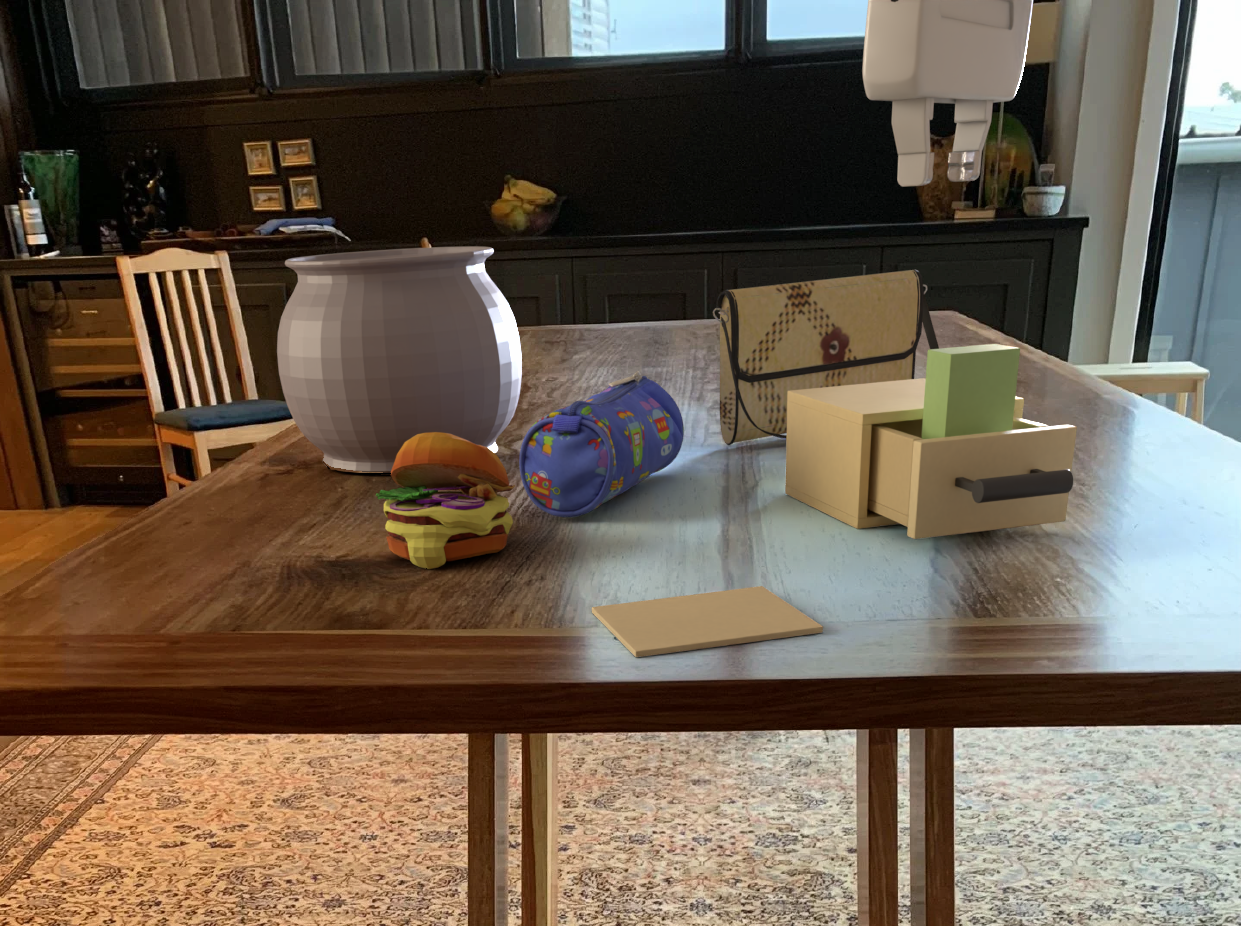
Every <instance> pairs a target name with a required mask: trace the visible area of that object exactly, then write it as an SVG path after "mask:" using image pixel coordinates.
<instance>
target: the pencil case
mask: <svg viewBox="0 0 1241 926" xmlns="http://www.w3.org/2000/svg"><path fill="white" fill-rule="evenodd" d="M607 384H608V387H607V388H605V389H604V390H602V391H600V393H596V394H593V395H591V396H590V397H588V398H587V399H585V400H575V401H574V402H572V403H571V404H570V405H569V406H568V405H567V406H565V407H561V408H558V409H555V410H554V411H552V412H550V413H548V414H546V415H545V416H543V417H540V418H539V419H537V420H536V421H535V422H534V423H533V424H532V425H531V426H530V427H529V429H528V430H527V432H526V434H525V435H524V438H523V440H522V443H521V444H520V445H521V446H520V450H519V451H520V452H519V459H518V460H519V473H520V474H519V475H520V479H521V483H522V486H523V487H524V490H525V492H526V495H527V496H528V497H529V499H530V500H531V502H532V503H533V504H534V505H535V506H536V507H537V508H538V509H540V510H541V511H543V512H545V513H547V514H549V515H551V516H554V517H557V518H558V517H559V518H576V517H581V516H583V515H586V514H588V513H591V512H592V511H594V510H596V509H598V508H599V507H600V506H601V505H603V504H605V503H607V502H609V501H610V500H613V499H614V498H616V497H617V496H619V495H621V494H623V493H625V492H627V491H628V490H630V489H631V488H633V487H635V486H637V485H638V484H640V483H641V482H643V481H644V480H645V479H647V478H648V477H650V476H652V475H653V474H655V473H657V472H660V471H662V470H664V469H665V468H667V467H668V466H669V465H671V464H672V463H673V461H675V459H676V458H677V457H678V455H679V453H680V452H681V448H682V445H683V441H684V436H685V427H684V420H683V415H682V413H681V410H680V408H679V406H678V404H677V402H676V401H675V399H674V398H673V397H672V396H671V395H670V394H669V392H668V391H666V390H665V389H664V388H663V387H662V386H661V385H659V384H658V382H656V381H654V380H653V379H650V378H648V377H647V375H641V373H640V371H638V370H637V371H635V373H634V374H632V375H630V376H628V377H624V378H621V379H618V380H615V381H613V382H609V383H607Z"/></svg>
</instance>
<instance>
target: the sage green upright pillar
mask: <svg viewBox="0 0 1241 926" xmlns="http://www.w3.org/2000/svg"><path fill="white" fill-rule="evenodd" d="M926 354H927V355H926V367H925V378H926V381H925V395H924V409H923V424H922V439H932V438H942V437H952V436H961V435H971V434H981V433H990V432H1000V431H1010V430H1012V425H1013V415H1014V406H1015V396H1016V397H1017V395H1016V394H1017V387H1018V386H1017V384H1018V375H1019V367H1020V366H1019V364H1020V355H1021V348H1020V347H1015V346H1010V345H1004V344H999V343H987V344H976V345H966V346H955V347H954V346H953V347H944V348H943V347H941V348H939V349H930V348H929V349H927V353H926Z"/></svg>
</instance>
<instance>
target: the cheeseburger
mask: <svg viewBox="0 0 1241 926" xmlns="http://www.w3.org/2000/svg"><path fill="white" fill-rule="evenodd" d="M390 477H391V479H392V481H393V482H394V483H395V484H396V485H397V486H400V487H398V488H392V489H389V490H384V489H380V490H379V492H376V493H375V497H377V500H381V499H384V500H385V501H384V503H383V513H384V516H385V517H386V518H387V519H388V520H387V521H386V523H385V525H384V528H385V530H386V531H387V534H388V536H387V535H386V542H387V545H388V548H389V551H390V552H392V553H393V554H394V555H396V556H397V557H399V558H401V559H404V560H408V561H410V562H411V564H413V565H415V566H416V567H419V568H421V569H426V568H427V570H433V569H437V568H439V567H441V566H444V565H445V564H446V562H453V561H458V560H462V559H467V558H473V557H479V556H483V555H486V554H487V555H488V554H494V553H498V552H501V551H502V550H503V549H504V548H505V547H506V546H507V541H508V537H509V533H510V531H511V528H512V526H513V523H514V520H513V516H512V515H511V514H510V513H509V512H508V511H507V509H509V507H510V502H509V498H507V497H505V496H504V495H501V494H498V493H501V492H502V493H504V492H511V491H512V490H513V489H514V488H515V487H516V484H510V480H509V477H508V473H507V470H506V468H505V466H504V464H503V462H502V461H501V460H500V458H499V456H498V455H497V454H496V452H495V453H494V452H493V451H491V450H490V449H489V448H487V447H484V446H482V445H476V444H474V443H472V442H470V441H467V440H465V439H463V438H460V437H458V436H455V435H452V434H449V433H441V432H429V433H421V434H417V435H415V436H414V437H412V438H411V439H409V440H407V441H406V442H405V443H404V444H403V446H402V447H401V449H400V450H399V452H398V454H397V456H396V459H395V462H394V465H393V467H392V470H391V474H390Z"/></svg>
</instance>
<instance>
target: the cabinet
mask: <svg viewBox="0 0 1241 926" xmlns="http://www.w3.org/2000/svg"><path fill="white" fill-rule="evenodd" d="M925 381H926V377H923V378H922V377H921V378H914V379H909V380H898V381H887V382H877V383H866V384H855V385H844V386H833V387H823V388H812V389H801V390H790V391H788V393H787V400H788V401H787V433H786V435H787V437H786V438H785V439H786V444H785V450H786V451H785V481H784V482H785V484H784V485H785V486H784V495H787V496H789V497H791V498H793V499H795V500H797V501H799V502H801V503H803V504H805V505H807V506H809V507H811V508H813V509H816V510H818V511H820V512H821V513H824V514H825V515H828V516H830V517H832V518H834V519H836V520H837V521H841V522H842V523H844V524H846V525H848V526H850V527H852V528H854V529H857V530H860V529H868V528H877V527H884V526H885V527H887V526H893V525H895V526H896V525H901V524H900V523H898V522H895V521H893V520H891V519H889V518H886V517H884V516H882V515H880V514H878V513H875V512H873V511H871V510H869V509H867V503H868V485H869V466H870V447H871V428H872V425H871V424H879V423H889V422H899V421H909V420H919V419H923V409H924V395H925ZM1024 405H1025V398H1024V397H1019V396H1017V395H1016V396H1015V406H1014V415H1013V417H1017V418H1021V419H1023V415H1024V413H1023V412H1024Z"/></svg>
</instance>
